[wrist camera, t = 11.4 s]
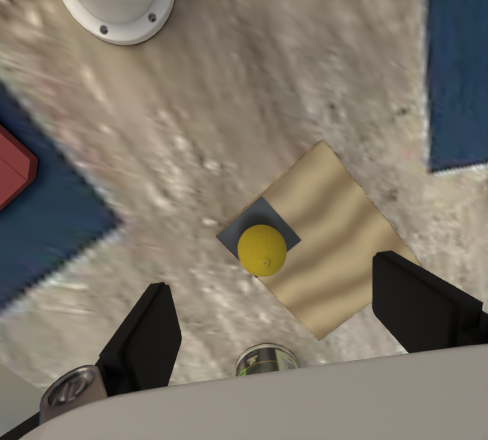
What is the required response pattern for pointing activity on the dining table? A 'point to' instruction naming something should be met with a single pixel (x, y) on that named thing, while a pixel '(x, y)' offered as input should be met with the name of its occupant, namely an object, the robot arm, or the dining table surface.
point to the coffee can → (265, 360)
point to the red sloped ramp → (14, 167)
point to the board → (320, 239)
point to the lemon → (262, 250)
